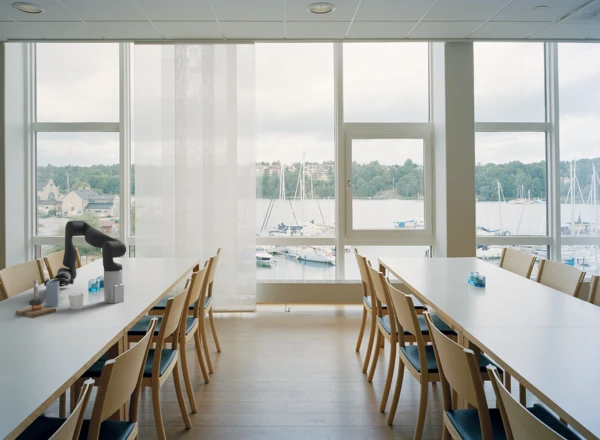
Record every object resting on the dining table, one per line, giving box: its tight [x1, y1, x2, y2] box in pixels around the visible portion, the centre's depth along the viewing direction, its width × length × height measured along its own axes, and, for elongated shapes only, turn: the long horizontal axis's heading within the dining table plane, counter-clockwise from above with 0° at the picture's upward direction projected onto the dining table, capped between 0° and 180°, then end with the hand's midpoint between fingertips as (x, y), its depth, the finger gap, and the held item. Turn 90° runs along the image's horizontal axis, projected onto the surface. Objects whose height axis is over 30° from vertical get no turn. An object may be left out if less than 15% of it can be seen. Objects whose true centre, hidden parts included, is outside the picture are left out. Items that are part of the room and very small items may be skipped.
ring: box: [28, 297, 44, 306], centre depth 207 cm, size 5×5×2 cm
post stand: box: [15, 279, 58, 318], centre depth 207 cm, size 14×11×16 cm
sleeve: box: [45, 281, 61, 308], centre depth 222 cm, size 5×5×12 cm
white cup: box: [68, 292, 85, 310], centre depth 217 cm, size 7×7×7 cm
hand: (57, 284), depth 232 cm, fingers open, 8 cm apart
